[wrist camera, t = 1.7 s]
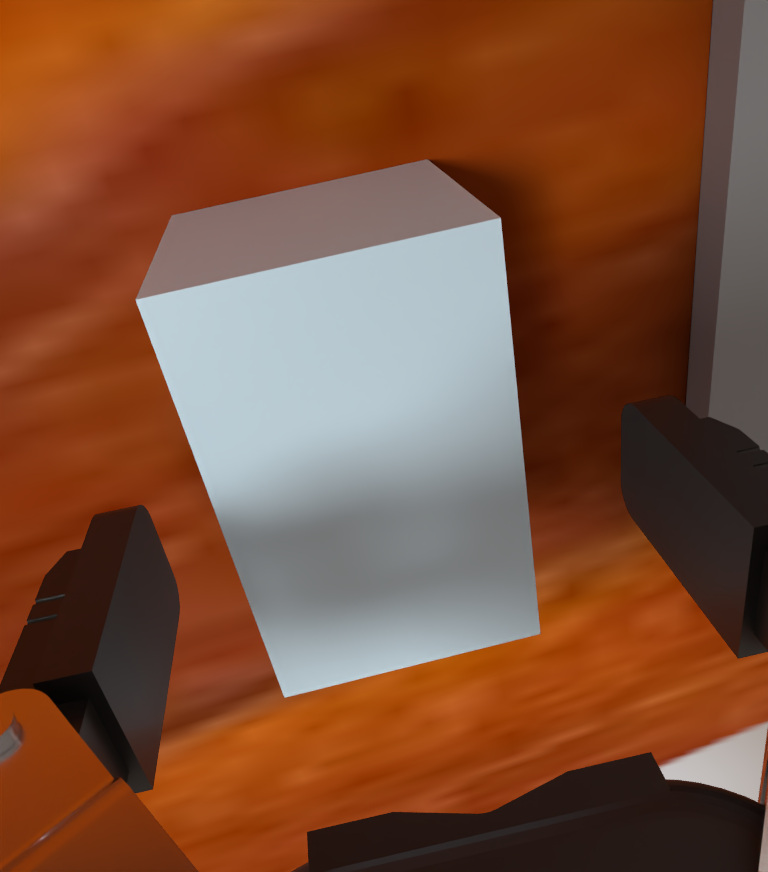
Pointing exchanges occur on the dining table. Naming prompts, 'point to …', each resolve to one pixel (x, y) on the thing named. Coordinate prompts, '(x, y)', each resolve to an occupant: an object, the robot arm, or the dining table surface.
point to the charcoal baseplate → (733, 228)
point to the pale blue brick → (354, 416)
